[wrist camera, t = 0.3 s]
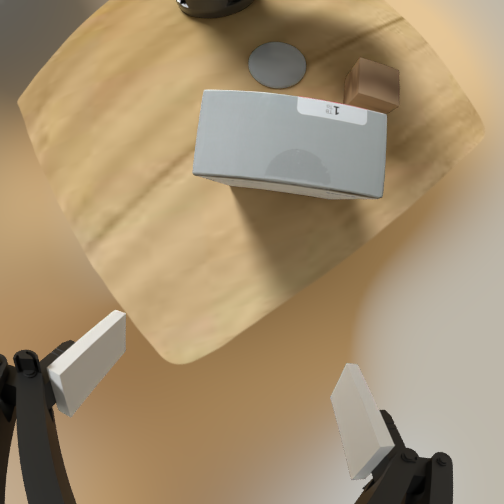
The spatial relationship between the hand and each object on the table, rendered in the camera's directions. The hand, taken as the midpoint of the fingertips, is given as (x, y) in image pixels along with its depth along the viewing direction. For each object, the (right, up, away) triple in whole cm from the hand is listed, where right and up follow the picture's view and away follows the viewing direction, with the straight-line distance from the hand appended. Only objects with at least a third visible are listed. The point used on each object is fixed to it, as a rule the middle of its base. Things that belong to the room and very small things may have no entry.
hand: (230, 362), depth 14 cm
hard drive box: (+6, +19, +25) cm, 31 cm away
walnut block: (+19, +30, +21) cm, 41 cm away
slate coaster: (+5, +36, +21) cm, 42 cm away
